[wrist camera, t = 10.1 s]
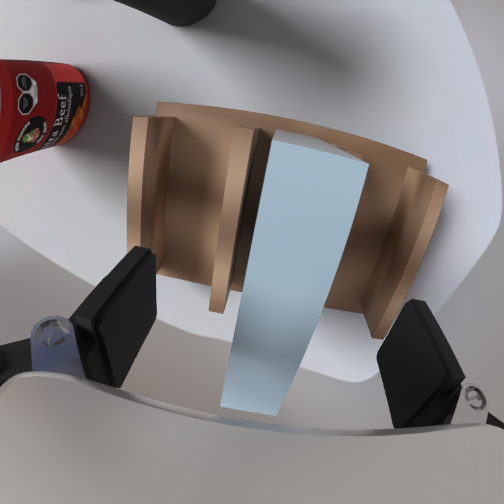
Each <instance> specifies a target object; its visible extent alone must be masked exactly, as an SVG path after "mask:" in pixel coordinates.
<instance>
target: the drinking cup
mask: <svg viewBox="0 0 504 504" xmlns="http://www.w3.org/2000/svg"><path fill="white" fill-rule="evenodd" d="M114 1H117V2H119V3H122V4H125V5H127V6H130V7H132V8H134V9H137V10H139V11H142V12H144V13H146V14H148V15H151V16H153V17H155V18H157V19H159V20H162V21H164V22H166V23H168V24H171V25H175V26H185V25H189V24H193V23H195V22H197V21H199V20H201V19H203V18H204V17H205V16H207V15H208V14H209V13H210V12H211V10H212V9H213V7H214V6H215V3H216V0H114Z"/></svg>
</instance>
